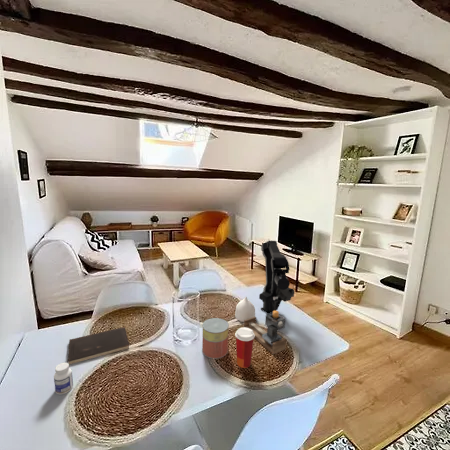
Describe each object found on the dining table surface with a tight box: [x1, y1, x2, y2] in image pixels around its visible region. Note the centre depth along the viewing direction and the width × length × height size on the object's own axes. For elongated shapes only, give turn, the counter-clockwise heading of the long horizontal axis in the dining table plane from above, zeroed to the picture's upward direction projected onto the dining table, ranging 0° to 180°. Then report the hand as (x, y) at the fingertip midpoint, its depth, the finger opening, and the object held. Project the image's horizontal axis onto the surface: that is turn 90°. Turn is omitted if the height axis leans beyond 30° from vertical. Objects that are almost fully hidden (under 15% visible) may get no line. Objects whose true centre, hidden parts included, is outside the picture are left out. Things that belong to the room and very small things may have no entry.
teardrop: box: [234, 296, 256, 323], centre depth 138 cm, size 11×11×12 cm
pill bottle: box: [53, 362, 74, 395], centre depth 88 cm, size 5×5×9 cm
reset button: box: [272, 310, 280, 320], centre depth 130 cm, size 3×3×4 cm
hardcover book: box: [66, 326, 130, 365], centre depth 112 cm, size 16×23×2 cm
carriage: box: [262, 324, 283, 346], centre depth 115 cm, size 6×6×7 cm
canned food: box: [201, 317, 230, 360], centre depth 110 cm, size 11×11×12 cm
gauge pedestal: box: [264, 312, 286, 331], centre depth 131 cm, size 7×7×5 cm
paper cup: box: [234, 326, 255, 369], centre depth 103 cm, size 8×8×14 cm
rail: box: [243, 316, 287, 355], centre depth 120 cm, size 22×7×5 cm, turn 32°
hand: (275, 309), depth 130 cm, fingers closed
